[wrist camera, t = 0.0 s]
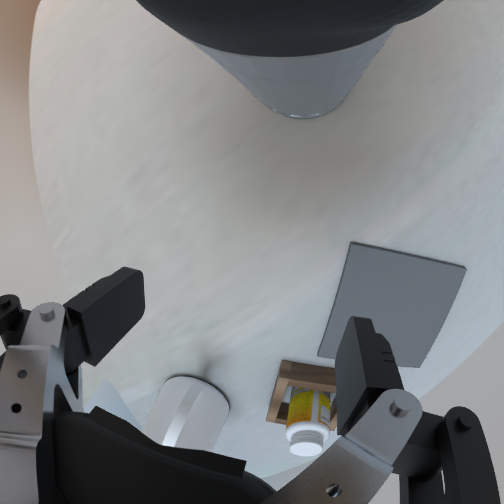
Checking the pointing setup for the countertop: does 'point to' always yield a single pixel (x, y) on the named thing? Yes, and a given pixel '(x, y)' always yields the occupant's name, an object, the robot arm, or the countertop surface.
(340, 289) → the rubber mat
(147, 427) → the coffeepot
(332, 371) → the collar holder
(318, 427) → the supplement bottle
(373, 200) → the countertop surface
